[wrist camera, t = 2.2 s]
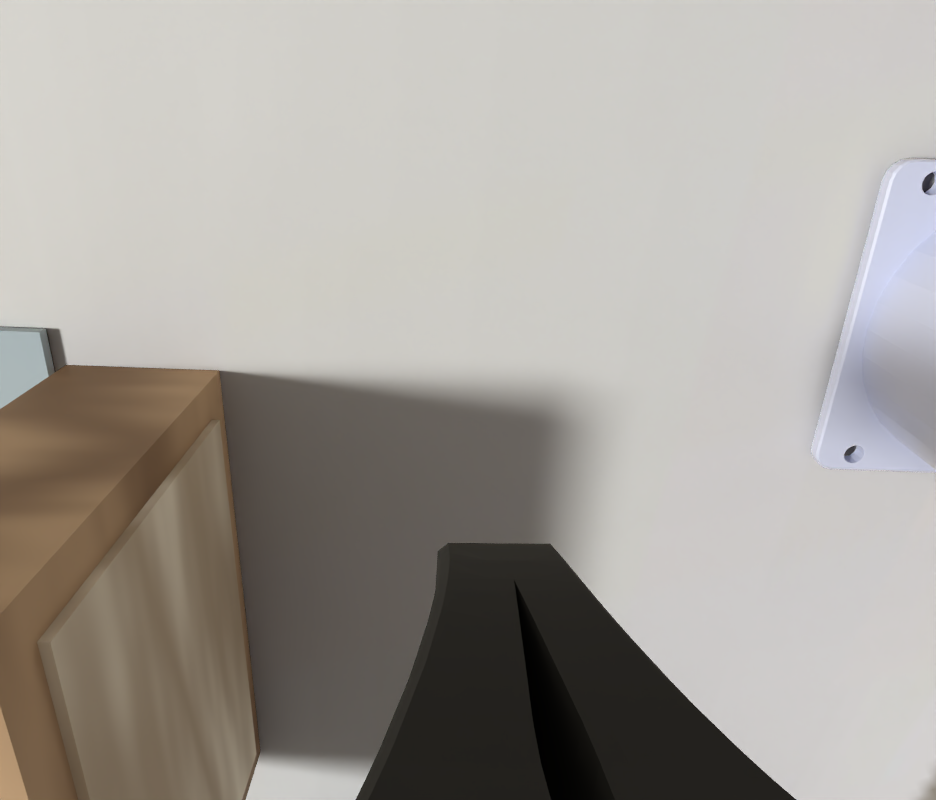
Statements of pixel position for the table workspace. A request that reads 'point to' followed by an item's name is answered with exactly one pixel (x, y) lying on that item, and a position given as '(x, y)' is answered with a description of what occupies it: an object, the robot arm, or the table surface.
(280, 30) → the table surface
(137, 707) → the tan wooden block
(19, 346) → the mat
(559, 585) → the robot arm
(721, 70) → the table surface
